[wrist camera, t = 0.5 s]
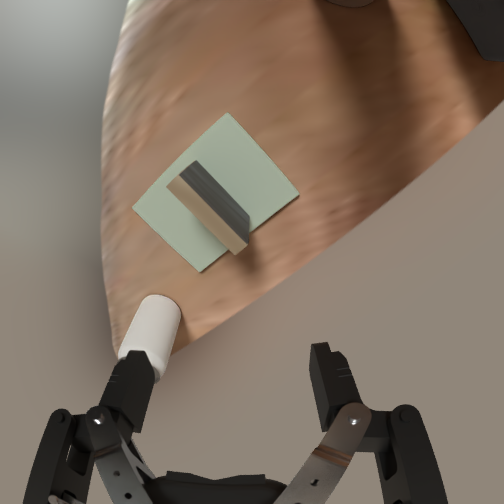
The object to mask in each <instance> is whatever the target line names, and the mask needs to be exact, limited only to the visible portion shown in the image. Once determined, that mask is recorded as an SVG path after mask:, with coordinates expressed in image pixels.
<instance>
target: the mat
mask: <svg viewBox="0 0 504 504" xmlns="http://www.w3.org/2000/svg"><path fill="white" fill-rule="evenodd" d="M194 160H195V161H196V160H197V161H198V162H199V163H200V164H201V165H202V166H203V167H204V168H205V169H206V171H207V172H208V173H209V174H210V175H211V176H212V177H213V178H214V179H215V180H216V181H217V182H218V183H219V184H220V185H221V186H222V187H223V188H224V189H225V190H226V191H227V192H228V194H229V195H230V196H231V197H232V198H233V199H234V200H235V201H236V202H237V203H238V204H239V205H240V206H241V207H242V208H243V209H244V210H245V212H246V213H247V214H248V215H249V216H250V221H249V233H250V232H251V231H252V230H254V229H255V228H256V227H258V226H259V225H260V224H261V223H263V222H264V221H265V220H266V219H268V218H269V217H270V216H272V215H273V214H274V213H275V212H277V211H278V210H279V209H281V208H282V207H283V206H284V205H286V204H287V203H288V202H290V201H291V200H292V199H294V198H295V197H296V196H297V195H299V192H298V191H297V189H296V188H295V187H294V186H293V185H292V183H291V182H290V181H289V180H288V179H287V177H286V176H285V175H284V174H283V173H282V172H281V170H280V169H279V168H278V167H277V166H276V164H275V163H274V162H273V161H272V160H271V159H270V158H269V156H268V155H267V154H266V153H265V152H264V151H263V150H262V148H261V147H260V146H259V145H258V144H257V143H256V142H255V141H254V140H253V138H252V137H251V136H250V135H249V134H248V133H247V132H246V131H245V130H244V129H243V128H242V126H241V125H240V124H239V123H238V122H237V121H236V120H235V119H234V118H233V117H232V116H231V115H230V114H229V113H228V112H227V113H226V114H225V115H224V116H223V117H221V118H220V119H219V120H218V121H217V122H216V123H215V124H214V125H212V126H211V127H210V128H209V129H208V130H207V131H206V132H205V133H204V134H203V135H201V136H200V137H199V138H198V139H197V140H196V141H195V142H194V143H193V144H192V145H191V146H190V147H189V148H188V149H187V150H186V151H185V152H184V153H183V154H182V155H181V156H180V157H179V158H178V159H177V160H176V161H175V162H174V163H173V164H172V165H171V166H170V167H169V168H168V169H167V170H166V171H165V172H164V173H163V174H162V175H161V176H160V177H159V178H158V179H157V180H156V181H155V183H154V184H153V185H152V186H151V187H150V188H149V189H148V190H147V191H146V192H145V194H144V195H143V196H142V197H141V198H140V199H139V200H138V201H137V203H136V204H135V205H134V206H133V207H132V209H133V210H134V211H135V212H136V213H137V214H138V215H139V216H140V217H141V218H142V219H143V220H144V221H145V222H146V223H148V224H149V225H150V226H151V227H152V228H153V229H154V230H155V231H156V232H157V233H158V234H159V235H160V236H161V237H162V238H163V239H164V240H165V241H166V242H167V243H168V244H169V245H171V246H172V247H173V248H174V249H175V250H176V251H177V252H178V253H179V254H180V255H181V256H182V257H183V258H184V259H186V260H187V261H188V262H189V263H190V264H191V265H192V266H193V267H194V268H195V269H196V270H198V271H199V272H201V271H202V270H203V269H204V268H206V267H207V266H208V265H209V264H211V263H212V262H213V261H215V260H216V259H217V258H218V257H220V256H221V255H222V254H223V253H225V252H226V251H227V250H228V248H227V247H226V246H225V245H224V244H223V243H222V242H221V241H220V240H219V239H218V238H217V237H216V236H215V235H214V234H213V233H212V232H211V231H209V230H208V229H207V228H206V227H205V226H204V225H203V224H202V223H201V222H200V221H199V220H198V219H197V218H196V217H195V216H194V215H193V214H192V213H191V212H190V211H189V210H188V209H187V208H186V207H185V206H184V205H183V204H182V203H181V202H180V201H179V200H178V199H177V198H176V197H175V196H174V195H173V194H172V193H171V192H170V191H169V190H168V189H167V188H166V186H167V185H168V184H169V183H170V182H171V181H172V180H173V179H174V178H175V177H176V176H177V175H178V174H179V173H180V172H181V171H182V170H184V169H185V168H186V167H187V166H188V165H190V164H191V163H192V162H193V161H194Z"/></svg>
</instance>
